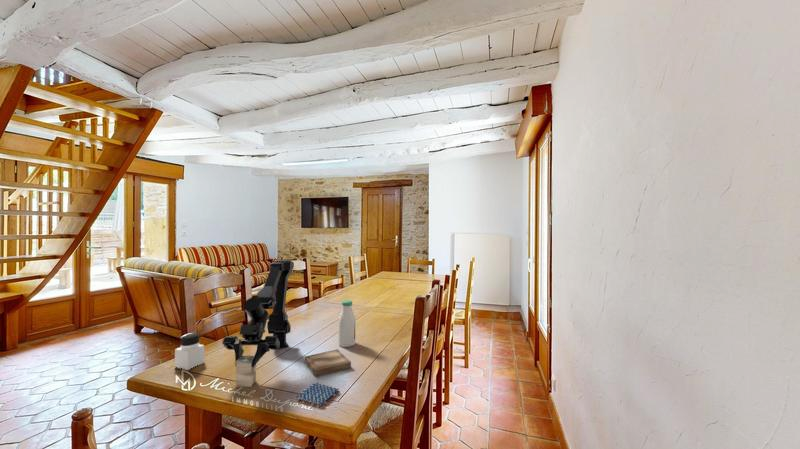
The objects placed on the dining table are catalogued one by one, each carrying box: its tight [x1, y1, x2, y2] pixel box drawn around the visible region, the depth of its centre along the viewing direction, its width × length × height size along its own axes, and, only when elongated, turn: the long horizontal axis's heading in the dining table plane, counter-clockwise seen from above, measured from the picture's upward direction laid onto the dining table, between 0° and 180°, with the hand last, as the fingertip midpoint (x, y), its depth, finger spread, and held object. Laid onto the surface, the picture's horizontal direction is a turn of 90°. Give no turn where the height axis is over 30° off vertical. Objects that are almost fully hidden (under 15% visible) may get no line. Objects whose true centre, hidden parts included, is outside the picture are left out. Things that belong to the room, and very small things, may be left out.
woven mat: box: [295, 382, 341, 409], centre depth 104 cm, size 10×11×2 cm
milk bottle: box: [337, 300, 356, 348], centre depth 147 cm, size 8×8×20 cm
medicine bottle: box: [174, 332, 206, 371], centre depth 125 cm, size 7×7×12 cm
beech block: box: [235, 355, 257, 388], centre depth 111 cm, size 4×5×9 cm
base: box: [304, 349, 352, 378], centre depth 126 cm, size 14×14×3 cm
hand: (244, 366), depth 110 cm, fingers closed on beech block, 5 cm apart
